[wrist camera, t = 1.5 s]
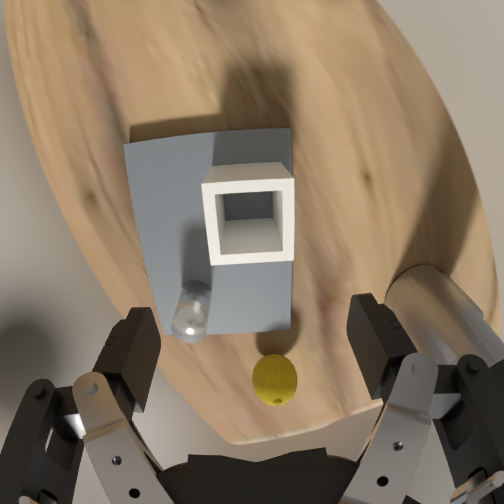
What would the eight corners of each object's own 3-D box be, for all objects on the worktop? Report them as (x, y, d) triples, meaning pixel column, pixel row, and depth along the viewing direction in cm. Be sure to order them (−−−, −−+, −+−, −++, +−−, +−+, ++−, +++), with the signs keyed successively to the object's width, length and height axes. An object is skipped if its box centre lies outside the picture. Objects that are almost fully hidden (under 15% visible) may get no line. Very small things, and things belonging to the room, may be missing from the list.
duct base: (288, 127, 25) (290, 128, 23) (288, 321, 34) (289, 329, 33) (129, 142, 24) (123, 144, 23) (166, 327, 34) (164, 334, 33)
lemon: (255, 371, 38) (257, 418, 31) (248, 345, 36) (249, 394, 29) (294, 365, 38) (302, 412, 31) (291, 338, 36) (300, 387, 29)
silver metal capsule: (209, 279, 30) (203, 315, 24) (213, 304, 31) (208, 342, 26) (179, 280, 30) (167, 316, 24) (184, 305, 31) (175, 342, 26)
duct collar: (280, 162, 25) (294, 178, 18) (281, 225, 27) (293, 260, 21) (211, 165, 25) (201, 183, 18) (217, 229, 27) (210, 265, 21)
